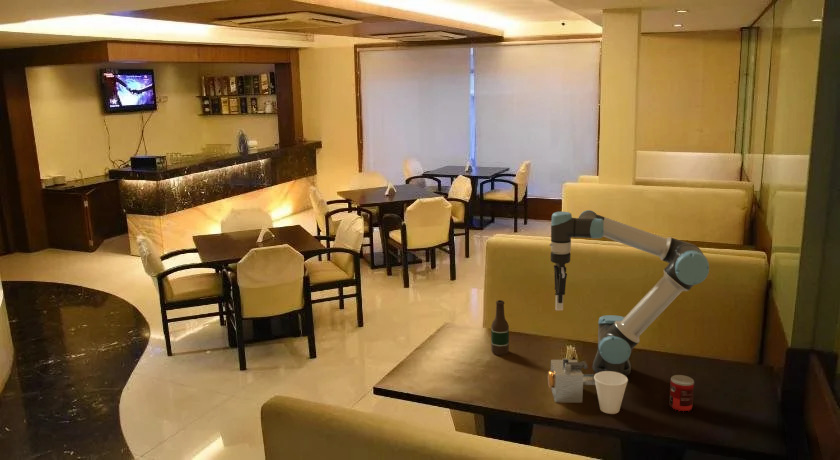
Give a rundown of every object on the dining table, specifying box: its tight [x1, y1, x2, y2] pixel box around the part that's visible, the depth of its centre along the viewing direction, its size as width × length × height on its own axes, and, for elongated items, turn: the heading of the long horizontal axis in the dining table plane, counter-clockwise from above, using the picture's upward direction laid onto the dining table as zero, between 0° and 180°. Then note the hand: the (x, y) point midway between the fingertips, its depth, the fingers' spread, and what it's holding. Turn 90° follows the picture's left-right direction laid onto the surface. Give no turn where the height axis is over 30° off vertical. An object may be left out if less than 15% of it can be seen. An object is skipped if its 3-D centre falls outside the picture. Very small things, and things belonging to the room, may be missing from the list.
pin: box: [547, 370, 596, 389], centre depth 254 cm, size 18×6×6 cm, turn 86°
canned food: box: [668, 374, 695, 413], centre depth 242 cm, size 8×8×11 cm
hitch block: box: [550, 357, 584, 404], centre depth 254 cm, size 10×14×13 cm
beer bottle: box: [490, 299, 510, 357], centre depth 293 cm, size 8×8×24 cm
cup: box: [594, 371, 629, 415], centre depth 241 cm, size 12×12×12 cm
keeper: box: [564, 360, 588, 370], centre depth 253 cm, size 8×4×1 cm, turn 86°
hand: (559, 309), depth 261 cm, fingers closed
